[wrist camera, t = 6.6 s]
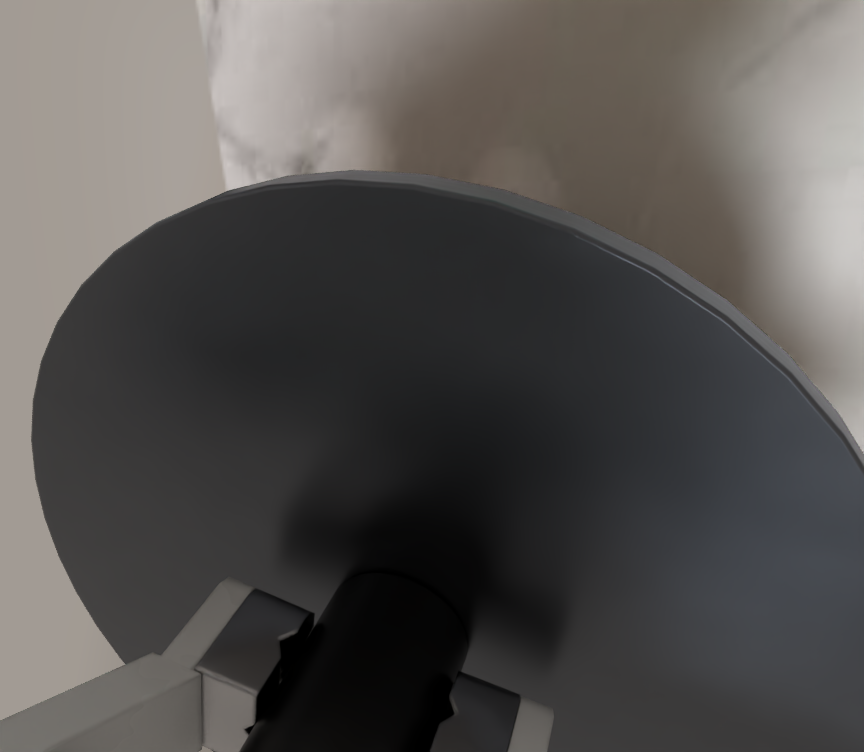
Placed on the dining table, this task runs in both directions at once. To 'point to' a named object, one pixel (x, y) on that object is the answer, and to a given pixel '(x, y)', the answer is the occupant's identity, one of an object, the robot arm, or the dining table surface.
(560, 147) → the dining table surface
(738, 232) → the dining table surface
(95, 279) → the pot lid
